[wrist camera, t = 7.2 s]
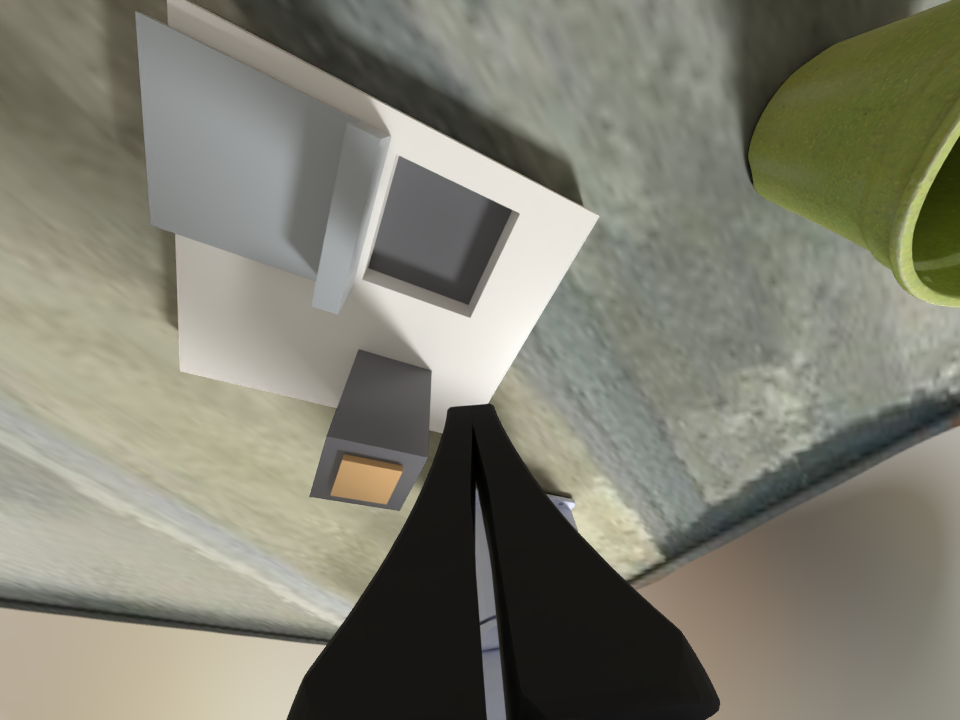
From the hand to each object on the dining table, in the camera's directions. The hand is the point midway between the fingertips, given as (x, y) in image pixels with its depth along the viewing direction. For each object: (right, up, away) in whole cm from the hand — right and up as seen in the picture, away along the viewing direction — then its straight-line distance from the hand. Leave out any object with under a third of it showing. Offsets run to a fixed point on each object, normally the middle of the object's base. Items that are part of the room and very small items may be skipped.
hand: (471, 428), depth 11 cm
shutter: (-8, +9, +2) cm, 12 cm away
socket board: (-5, +6, +7) cm, 11 cm away
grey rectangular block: (-5, +1, +9) cm, 10 cm away
